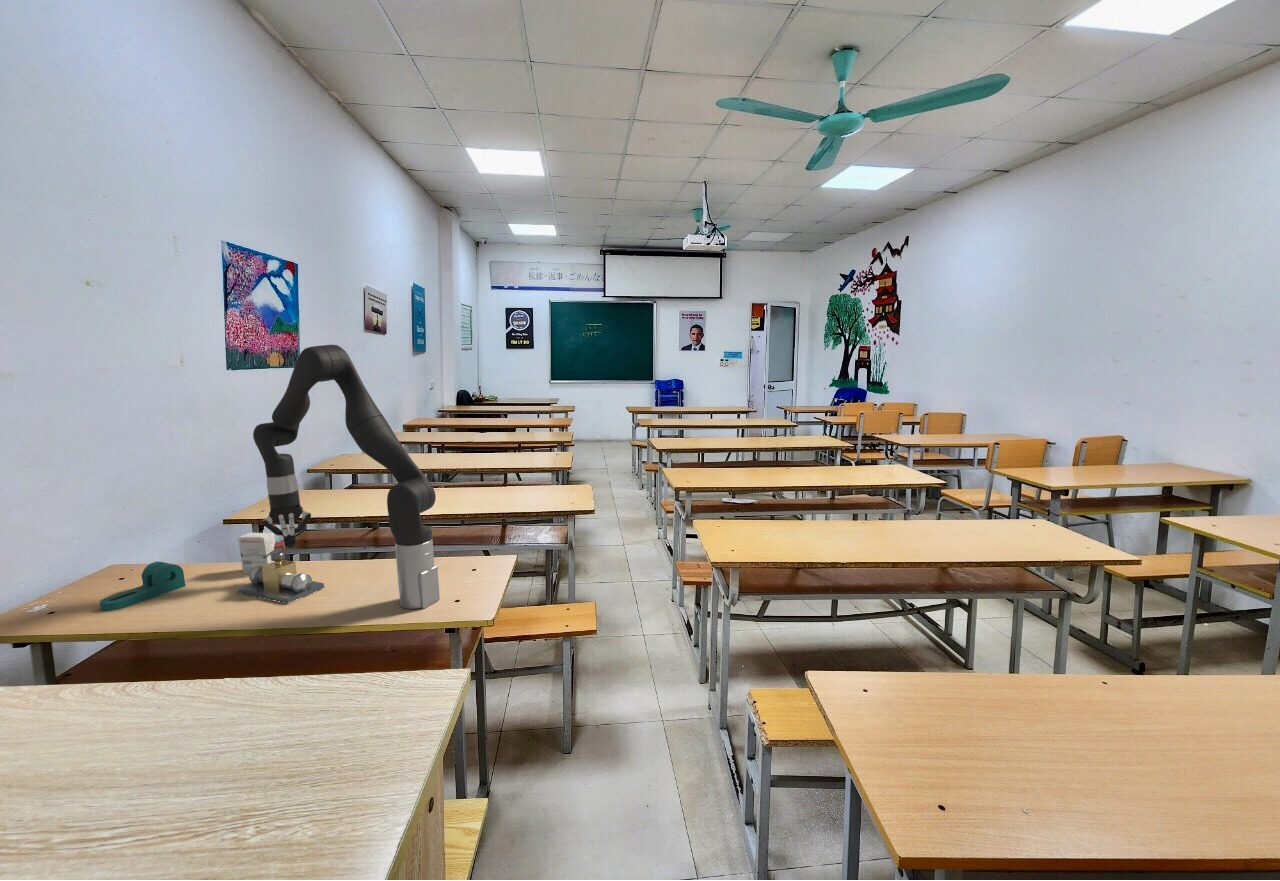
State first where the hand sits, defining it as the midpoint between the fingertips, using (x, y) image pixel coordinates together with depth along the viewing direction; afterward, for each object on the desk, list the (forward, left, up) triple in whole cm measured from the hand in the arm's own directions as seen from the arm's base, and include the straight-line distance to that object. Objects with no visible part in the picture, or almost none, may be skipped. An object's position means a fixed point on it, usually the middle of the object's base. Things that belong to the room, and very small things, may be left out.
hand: (291, 547), depth 170 cm
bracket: (+28, +24, -10) cm, 39 cm away
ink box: (+15, 0, -10) cm, 18 cm away
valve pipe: (-5, +8, -10) cm, 13 cm away
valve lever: (-1, +5, 0) cm, 5 cm away
